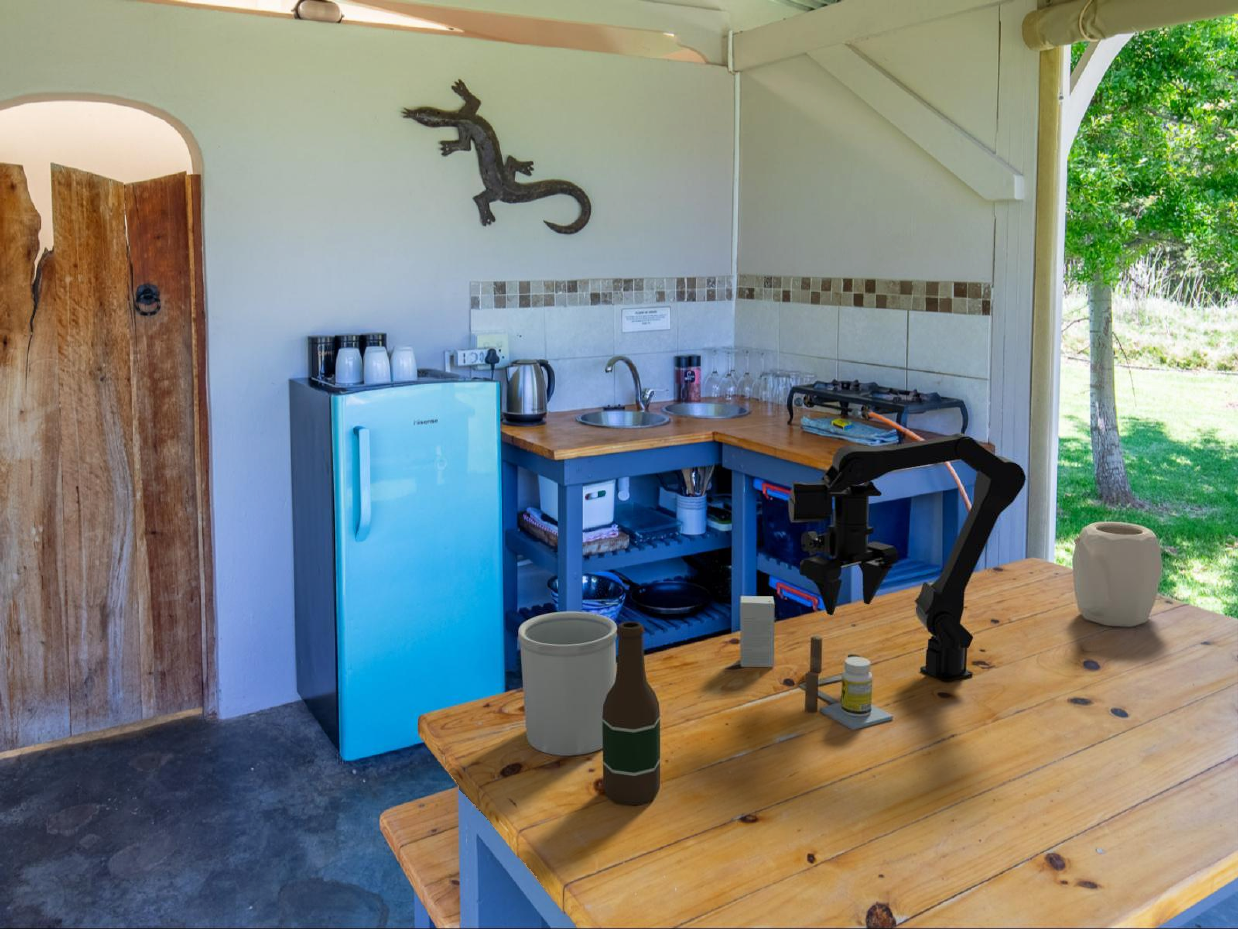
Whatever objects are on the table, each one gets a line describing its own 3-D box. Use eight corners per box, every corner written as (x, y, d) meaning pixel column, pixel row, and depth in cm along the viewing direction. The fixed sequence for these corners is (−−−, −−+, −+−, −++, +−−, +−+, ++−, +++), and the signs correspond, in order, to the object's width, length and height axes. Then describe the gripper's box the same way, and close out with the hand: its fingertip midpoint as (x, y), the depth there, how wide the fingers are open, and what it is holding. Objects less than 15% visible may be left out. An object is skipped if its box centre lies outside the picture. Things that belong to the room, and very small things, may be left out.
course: (823, 666, 188) (824, 634, 186) (880, 695, 174) (881, 661, 173) (755, 681, 181) (756, 648, 180) (810, 713, 168) (810, 678, 167)
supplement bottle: (842, 703, 170) (844, 654, 168) (872, 707, 169) (874, 657, 167) (839, 715, 166) (840, 664, 164) (869, 719, 164) (871, 668, 163)
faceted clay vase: (1032, 623, 209) (1038, 530, 205) (1109, 598, 223) (1116, 511, 220) (1106, 645, 196) (1114, 547, 192) (1182, 618, 211) (1191, 526, 207)
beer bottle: (601, 780, 147) (599, 616, 142) (656, 778, 147) (656, 613, 143) (605, 809, 139) (603, 635, 135) (663, 805, 140) (663, 633, 135)
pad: (859, 701, 172) (859, 697, 172) (892, 719, 165) (893, 715, 165) (820, 711, 169) (820, 707, 169) (852, 730, 162) (852, 726, 162)
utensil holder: (545, 767, 151) (542, 651, 148) (506, 728, 164) (503, 620, 161) (635, 745, 158) (634, 633, 154) (591, 709, 171) (590, 605, 167)
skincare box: (773, 659, 191) (774, 596, 189) (774, 668, 187) (775, 603, 185) (739, 658, 192) (740, 595, 189) (739, 667, 188) (740, 602, 185)
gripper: (852, 504, 190) (850, 588, 193) (777, 520, 180) (776, 608, 182) (901, 516, 181) (898, 603, 184) (825, 533, 171) (824, 625, 174)
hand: (848, 609), depth 181 cm, fingers open, 9 cm apart
